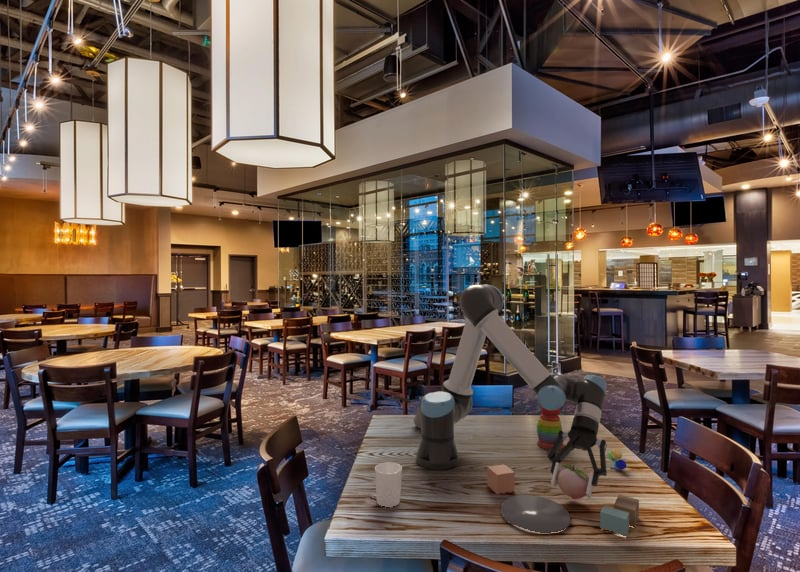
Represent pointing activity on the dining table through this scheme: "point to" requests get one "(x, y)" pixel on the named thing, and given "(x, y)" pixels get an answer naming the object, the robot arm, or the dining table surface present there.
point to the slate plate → (535, 513)
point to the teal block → (614, 520)
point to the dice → (614, 456)
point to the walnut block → (628, 507)
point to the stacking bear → (548, 428)
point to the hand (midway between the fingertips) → (570, 490)
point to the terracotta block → (500, 479)
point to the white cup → (388, 483)
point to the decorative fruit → (573, 482)
